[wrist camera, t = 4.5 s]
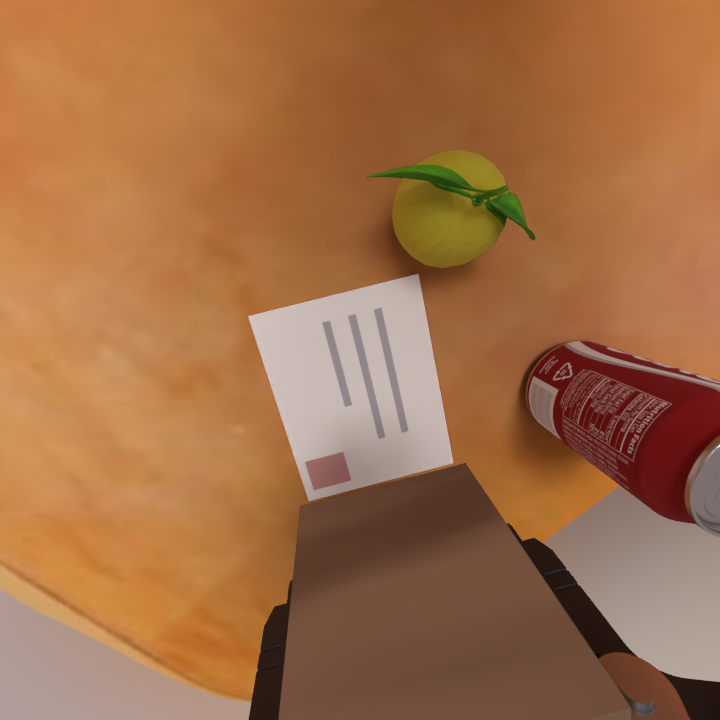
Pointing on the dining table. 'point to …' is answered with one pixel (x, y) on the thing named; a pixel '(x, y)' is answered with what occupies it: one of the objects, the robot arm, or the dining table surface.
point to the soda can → (636, 425)
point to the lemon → (451, 207)
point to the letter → (356, 386)
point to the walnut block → (430, 615)
